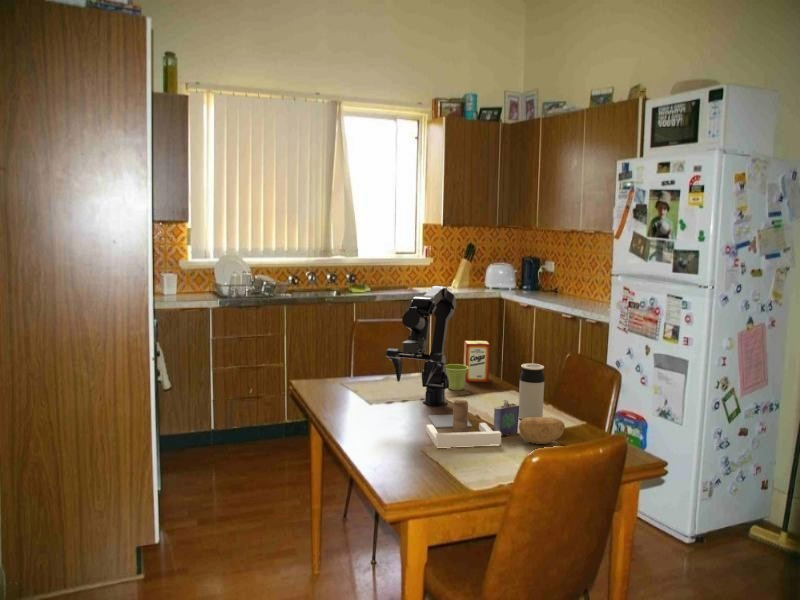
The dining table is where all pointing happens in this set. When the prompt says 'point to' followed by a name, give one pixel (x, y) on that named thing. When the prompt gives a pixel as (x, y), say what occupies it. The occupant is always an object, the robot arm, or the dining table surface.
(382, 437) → the dining table surface
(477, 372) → the baking soda box
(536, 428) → the potato
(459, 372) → the plant pot
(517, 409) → the flask
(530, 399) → the travel mug
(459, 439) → the white frame
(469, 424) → the mat
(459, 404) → the brown wooden cylinder
